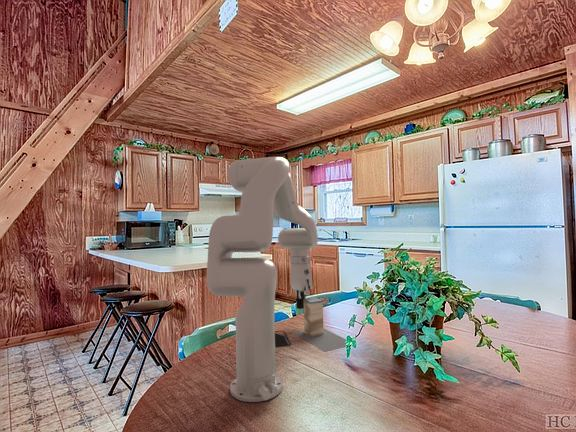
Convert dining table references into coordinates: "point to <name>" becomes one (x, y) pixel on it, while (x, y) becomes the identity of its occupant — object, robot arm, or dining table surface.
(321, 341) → the rubber mat
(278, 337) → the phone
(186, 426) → the dining table surface
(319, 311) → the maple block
